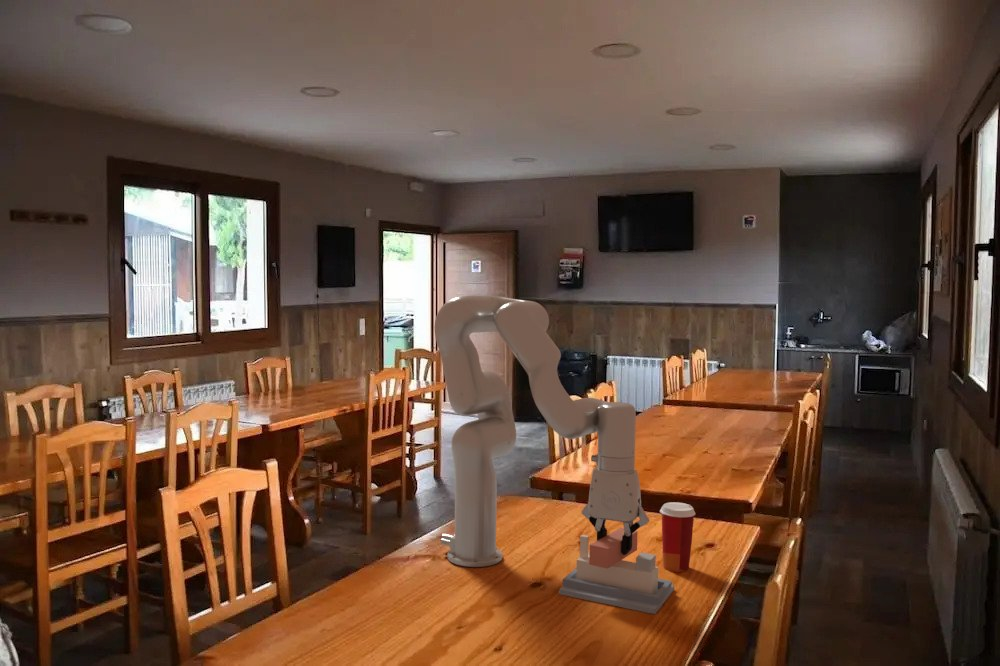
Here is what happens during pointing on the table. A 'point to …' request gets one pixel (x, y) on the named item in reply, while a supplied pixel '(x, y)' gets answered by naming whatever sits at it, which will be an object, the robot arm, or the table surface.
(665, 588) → the tray
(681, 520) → the paper cup
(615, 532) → the block
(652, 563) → the white notched block
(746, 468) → the table surface
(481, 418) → the robot arm
